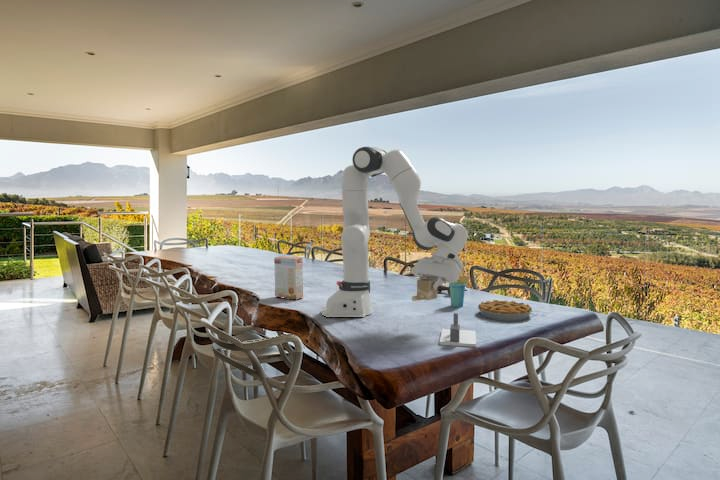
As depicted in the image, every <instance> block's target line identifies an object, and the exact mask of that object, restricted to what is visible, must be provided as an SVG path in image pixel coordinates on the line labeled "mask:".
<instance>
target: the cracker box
mask: <svg viewBox="0 0 720 480" xmlns="http://www.w3.org/2000/svg"><path fill="white" fill-rule="evenodd" d="M273 261H274V262H273V263H274V295H275V296H276V297H284V298H291V299H299V298H302V297H303V298H304V279H303V278H304V272H303V271H304V270H303V257H295V256H285V255H284V256H283V255H282V256H275V257H274V260H273ZM275 296H274V297H275ZM299 300H300V299H299Z"/></svg>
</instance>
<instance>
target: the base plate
mask: <svg viewBox="0 0 720 480" xmlns="http://www.w3.org/2000/svg"><path fill="white" fill-rule="evenodd" d="M440 333H441V334H440V337H439V345H441V346H454V347H468V348H469V347H470V348H477V337H476V335H477V333H476V330H469V329H468V330H466V329H460V330H459V342H450V329H449V328H447V329H446V328H442V329H441V332H440Z"/></svg>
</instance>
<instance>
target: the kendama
mask: <svg viewBox="0 0 720 480" xmlns="http://www.w3.org/2000/svg"><path fill="white" fill-rule="evenodd" d="M443 291H444V292H445V291H447V293H448V295H449V296H450V286H449V285H448V286H447V285H443V283H442V284H441V285H439V286H438V287H437V292H439V293H441V292H443ZM467 291H468V289H465V291H464V292H467Z"/></svg>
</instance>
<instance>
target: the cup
mask: <svg viewBox="0 0 720 480" xmlns="http://www.w3.org/2000/svg"><path fill="white" fill-rule="evenodd" d="M468 284H469V277H468V275H463V274H462V275H460V276H459V278H458V281H456V282H455V283H449V282H448V287H449V286H450V295H449V296H450V306H451V307H453V308H462V307H464V301H465V292H466V291H465V290H466V286H467V285H468Z"/></svg>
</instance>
